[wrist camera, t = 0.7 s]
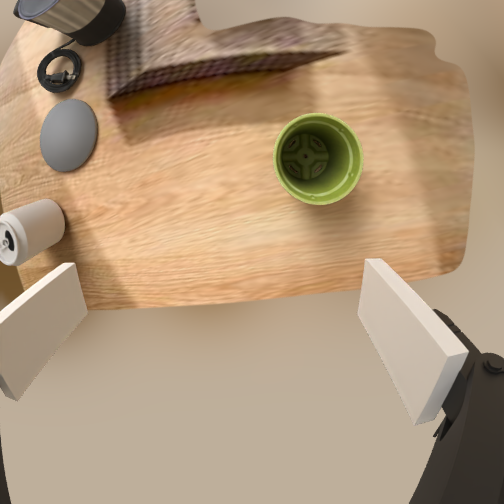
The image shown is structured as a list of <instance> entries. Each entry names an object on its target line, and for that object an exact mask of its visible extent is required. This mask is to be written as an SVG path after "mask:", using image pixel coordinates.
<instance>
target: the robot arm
mask: <svg viewBox="0 0 504 504" xmlns="http://www.w3.org/2000/svg"><path fill="white" fill-rule="evenodd" d="M87 314H88V311H87V307H86V304H85V300H84V297H83V293H82V289H81V285H80V281H79V277H78V273H77V269H76V265H75V263H63V264H61V265H60V266H58V267H57V268H56V269H54V270H53V271H51V272H50V273H49V274H47V275H46V276H45V277H43V278H42V279H41V280H39V281H38V282H37V283H35V284H34V285H33V286H31V287H30V288H29V289H28V290H26V291H25V292H24V293H22V294H21V295H20V296H19V297H17V298H16V299H15V300H14V301H12V302H11V303H10V304H9V305H8V306H6V307H5V308H4V309H3V310H2V311H0V388H1V389H2V391H3V392H4V394H5V396H7V397H9V398H11V399H13V400H15V401H18V400H19V399H20V398H21V396H22V395H23V393H24V392H25V391H26V389H27V388H28V387H29V385H30V384H31V383H32V381H33V380H34V379H35V377H36V376H37V375H38V374H39V372H40V371H41V370H42V368H43V367H44V366H45V365H46V363H47V362H48V361H49V360H50V358H51V357H52V356H53V354H54V353H55V352H56V351H57V350H58V348H59V347H60V346H61V345H62V343H63V342H64V341H65V340H66V339H67V338H68V336H69V335H70V334H71V333H72V332H73V330H74V329H75V328H76V327H77V326H78V324H79V323H80V322H81V321H82V320H83V319H84V318H85V316H86V315H87ZM357 315H358V317H359V319H360V321H361V323H362V324H363V326H364V328H365V330H366V332H367V333H368V335H369V337H370V339H371V341H372V342H373V345H374V346H375V348H376V350H377V352H378V354H379V356H380V358H381V360H382V362H383V363H384V365H385V368H386V370H387V371H388V373H389V375H390V377H391V379H392V381H393V383H394V385H395V387H396V389H397V391H398V393H399V395H400V398H401V399H402V402H403V404H404V406H405V408H406V410H407V412H408V414H409V416H410V418H411V420H412V423H413V425H414V426H415V425H418V424H422V423H425V422H429V421H432V420H434V419H435V417H436V416H437V414H438V412H439V410H440V409H441V407H442V408H443V410H444V412H445V414H446V416H445V418H444V420H443V421H442V423H441V424H440V426H439V427H438V429H437V430H436V432H435V434H434V435H433V437H436V436H437V434H438V436H437V439H436V442H435V444H434V448H433V450H432V453H431V455H430V458H429V461H428V463H427V465H426V468H425V470H424V472H423V475H422V477H421V479H420V482H419V484H418V486H417V488H416V490H415V492H414V494H413V496H412V498H411V500H410V502H409V504H504V358H502V357H501V356H499V355H496V354H494V353H483V354H481V353H480V351H479V350H478V349H477V348H476V347H475V346H474V345H473V343H472V342H470V340H469V339H468V338H467V337H466V336H465V335H464V333H463V332H461V330H460V329H459V328H458V327H457V326H455V325H454V323H453V322H452V321H451V319H449V317H448V316H447V315H445V314H443V313H441V312H440V311H438V310H436V309H434V310H432V309H431V308H430V307H429V306H428V305H427V304H426V303H425V302H424V301H423V300H422V299H421V298H420V297H419V296H418V295H417V294H416V292H414V290H413V289H412V288H411V287H410V286H408V284H407V283H406V282H405V281H404V280H403V279H402V278H401V277H400V276H399V275H398V274H397V273H396V272H395V271H394V270H393V269H392V268H391V267H390V266H389V265H388V264H386V263H385V262H384V261H383V260H382V259H381V258H377V259H365V265H364V273H363V280H362V287H361V295H360V301H359V308H358V313H357ZM0 504H11V501H10V496H9V492H8V487H7V482H6V477H5V470H4V464H3V456H2V447H1V437H0Z"/></svg>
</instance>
